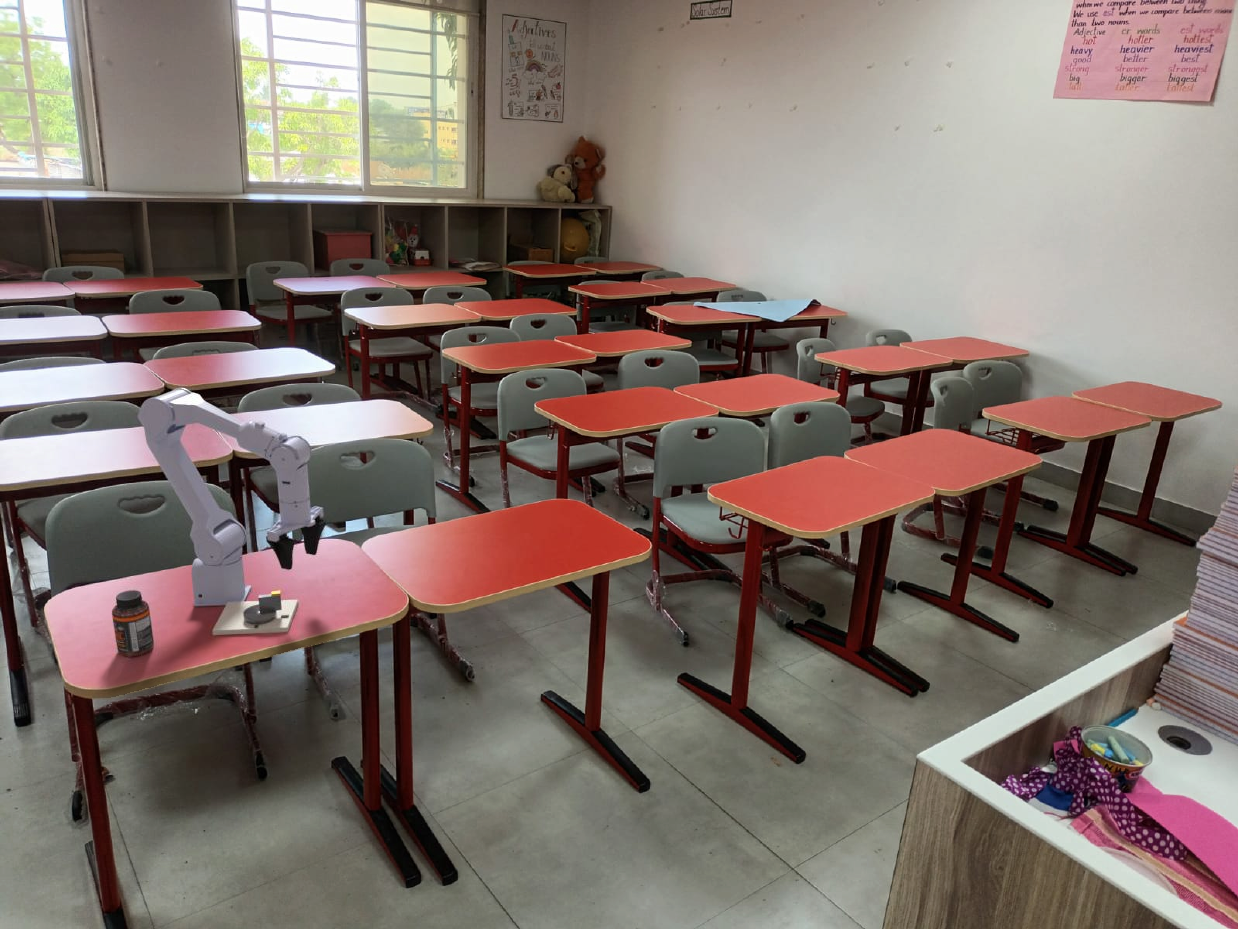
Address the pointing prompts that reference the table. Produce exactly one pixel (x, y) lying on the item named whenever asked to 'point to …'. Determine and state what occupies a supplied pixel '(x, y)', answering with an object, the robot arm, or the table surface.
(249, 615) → the dial
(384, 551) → the table surface
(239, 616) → the dial plate
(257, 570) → the table surface
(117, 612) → the supplement bottle
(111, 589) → the table surface
